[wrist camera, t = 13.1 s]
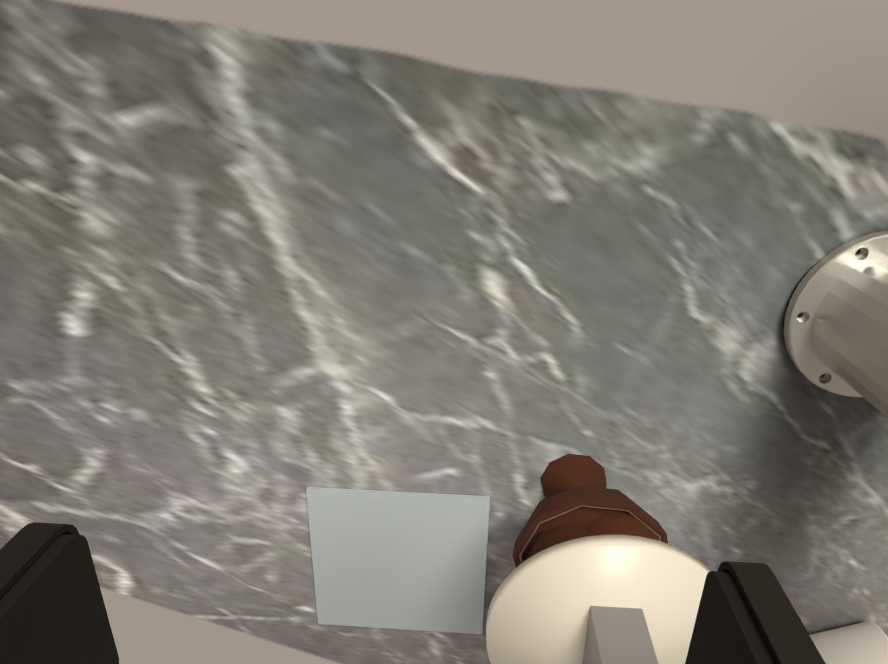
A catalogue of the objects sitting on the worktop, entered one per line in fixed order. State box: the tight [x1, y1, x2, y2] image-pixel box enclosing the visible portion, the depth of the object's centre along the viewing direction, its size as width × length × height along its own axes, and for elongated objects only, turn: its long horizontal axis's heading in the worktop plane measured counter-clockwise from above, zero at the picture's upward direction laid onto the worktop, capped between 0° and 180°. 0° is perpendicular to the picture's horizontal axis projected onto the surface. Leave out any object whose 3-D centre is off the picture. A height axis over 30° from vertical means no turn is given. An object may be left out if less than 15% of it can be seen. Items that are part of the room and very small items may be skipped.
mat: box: [306, 487, 490, 634], centre depth 56 cm, size 16×16×1 cm
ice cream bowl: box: [513, 454, 668, 567], centre depth 45 cm, size 11×11×15 cm
